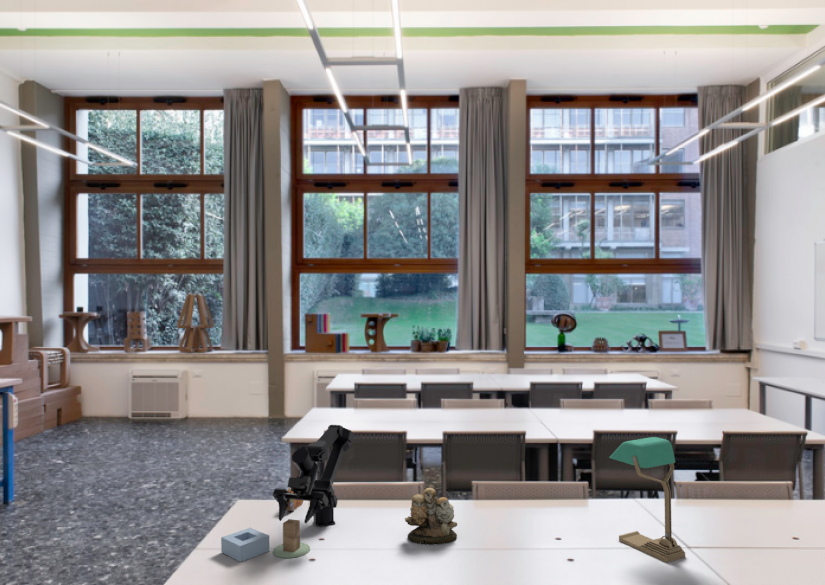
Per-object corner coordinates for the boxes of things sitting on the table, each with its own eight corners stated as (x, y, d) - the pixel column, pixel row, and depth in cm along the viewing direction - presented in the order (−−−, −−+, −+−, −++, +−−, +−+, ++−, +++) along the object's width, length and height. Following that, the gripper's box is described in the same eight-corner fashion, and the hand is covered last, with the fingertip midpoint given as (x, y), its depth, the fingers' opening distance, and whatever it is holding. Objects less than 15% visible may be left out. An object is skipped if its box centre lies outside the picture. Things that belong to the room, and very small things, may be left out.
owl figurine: (406, 546, 204) (405, 495, 205) (403, 533, 216) (402, 484, 217) (459, 543, 206) (458, 492, 206) (454, 530, 218) (453, 482, 218)
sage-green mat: (304, 540, 210) (304, 539, 210) (314, 553, 199) (314, 552, 199) (269, 547, 205) (269, 546, 205) (278, 561, 194) (278, 559, 194)
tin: (290, 514, 236) (290, 492, 236) (283, 513, 237) (282, 491, 237) (305, 501, 251) (305, 480, 251) (298, 501, 252) (297, 480, 252)
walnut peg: (289, 546, 204) (288, 519, 204) (299, 547, 203) (299, 520, 203) (283, 551, 201) (282, 523, 201) (294, 552, 199) (293, 524, 199)
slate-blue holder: (250, 542, 209) (250, 527, 209) (269, 550, 202) (269, 535, 202) (221, 552, 201) (221, 537, 201) (240, 561, 194) (240, 546, 194)
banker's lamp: (658, 565, 188) (656, 450, 188) (607, 541, 207) (606, 437, 207) (693, 554, 195) (691, 444, 196) (641, 532, 214) (639, 432, 214)
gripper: (274, 464, 210) (258, 507, 200) (324, 468, 205) (310, 512, 195) (285, 480, 218) (270, 523, 207) (334, 484, 213) (321, 528, 202)
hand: (292, 521), depth 203 cm, fingers open, 9 cm apart
